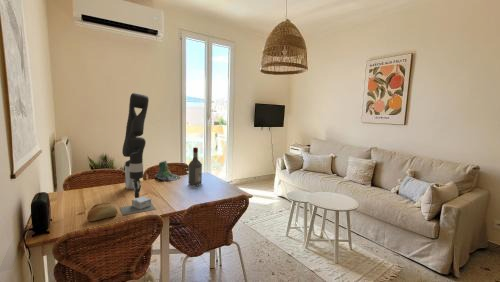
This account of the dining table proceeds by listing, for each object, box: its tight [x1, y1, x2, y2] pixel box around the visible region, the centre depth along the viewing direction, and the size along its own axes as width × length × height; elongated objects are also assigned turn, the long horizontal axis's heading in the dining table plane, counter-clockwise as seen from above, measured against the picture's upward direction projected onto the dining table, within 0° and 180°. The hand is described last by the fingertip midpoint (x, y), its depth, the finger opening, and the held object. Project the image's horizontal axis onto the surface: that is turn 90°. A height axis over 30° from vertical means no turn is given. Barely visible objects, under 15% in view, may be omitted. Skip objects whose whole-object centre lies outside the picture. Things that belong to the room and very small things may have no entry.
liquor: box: [187, 146, 203, 186], centre depth 201 cm, size 9×9×30 cm
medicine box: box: [131, 195, 152, 209], centre depth 154 cm, size 8×4×9 cm
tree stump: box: [155, 160, 181, 182], centre depth 214 cm, size 18×20×18 cm
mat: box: [119, 202, 157, 216], centre depth 151 cm, size 12×18×1 cm, turn 125°
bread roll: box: [86, 202, 118, 222], centre depth 136 cm, size 10×15×8 cm, turn 140°
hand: (136, 197), depth 152 cm, fingers closed
